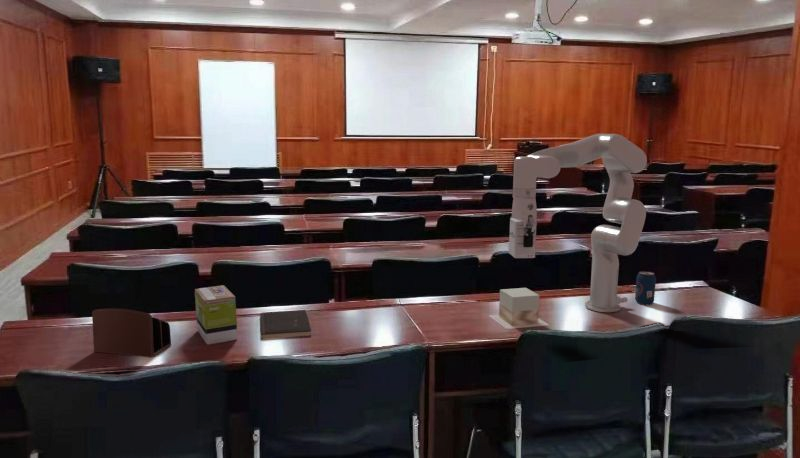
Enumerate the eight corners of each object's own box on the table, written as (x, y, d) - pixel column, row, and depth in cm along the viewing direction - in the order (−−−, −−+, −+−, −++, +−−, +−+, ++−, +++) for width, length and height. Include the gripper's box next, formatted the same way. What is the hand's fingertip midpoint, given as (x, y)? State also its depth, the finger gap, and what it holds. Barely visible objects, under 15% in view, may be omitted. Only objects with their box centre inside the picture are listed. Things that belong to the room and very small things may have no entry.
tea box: (196, 331, 204) (193, 287, 202) (226, 326, 209) (224, 284, 207) (206, 345, 191) (203, 299, 189) (238, 340, 196) (236, 295, 194)
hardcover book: (305, 315, 223) (305, 309, 222) (311, 337, 201) (311, 330, 200) (260, 318, 219) (260, 312, 219) (261, 340, 197) (260, 333, 197)
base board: (528, 314, 224) (528, 312, 224) (549, 327, 210) (549, 325, 210) (488, 318, 220) (488, 315, 220) (506, 331, 206) (506, 328, 206)
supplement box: (508, 253, 214) (509, 217, 212) (529, 253, 215) (530, 217, 213) (513, 258, 207) (515, 221, 205) (535, 258, 208) (537, 221, 206)
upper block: (525, 301, 220) (525, 287, 219) (538, 309, 211) (539, 295, 210) (499, 303, 217) (500, 289, 217) (512, 311, 208) (512, 297, 207)
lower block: (524, 314, 221) (525, 301, 220) (538, 323, 212) (538, 309, 211) (499, 316, 218) (499, 303, 217) (511, 325, 209) (512, 311, 208)
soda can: (631, 300, 243) (633, 270, 241) (648, 300, 244) (650, 270, 242) (640, 305, 237) (642, 275, 235) (657, 305, 237) (659, 274, 235)
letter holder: (153, 358, 181) (150, 312, 179) (93, 352, 185) (89, 307, 182) (171, 346, 191) (169, 302, 188) (114, 341, 195) (111, 298, 192)
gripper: (547, 196, 200) (544, 249, 203) (522, 190, 217) (520, 239, 220) (526, 196, 198) (523, 250, 201) (502, 190, 215) (501, 240, 218)
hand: (522, 244), depth 210 cm, fingers closed on supplement box, 8 cm apart
